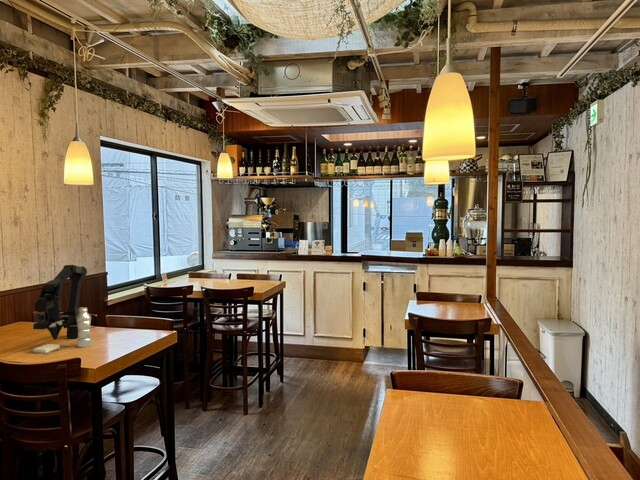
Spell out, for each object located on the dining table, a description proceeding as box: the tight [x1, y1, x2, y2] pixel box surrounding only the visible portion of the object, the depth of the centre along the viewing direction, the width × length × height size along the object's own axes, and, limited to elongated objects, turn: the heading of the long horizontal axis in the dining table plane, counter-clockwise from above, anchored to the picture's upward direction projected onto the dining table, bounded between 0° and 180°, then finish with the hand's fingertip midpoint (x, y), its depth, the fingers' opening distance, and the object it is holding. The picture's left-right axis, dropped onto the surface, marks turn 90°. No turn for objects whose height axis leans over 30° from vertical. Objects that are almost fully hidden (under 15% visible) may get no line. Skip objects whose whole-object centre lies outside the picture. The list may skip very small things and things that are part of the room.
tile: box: [33, 343, 60, 353], centre depth 209 cm, size 2×7×8 cm
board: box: [25, 344, 72, 356], centre depth 210 cm, size 14×14×1 cm
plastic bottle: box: [76, 306, 93, 349], centre depth 214 cm, size 6×7×20 cm
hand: (54, 339), depth 214 cm, fingers closed
